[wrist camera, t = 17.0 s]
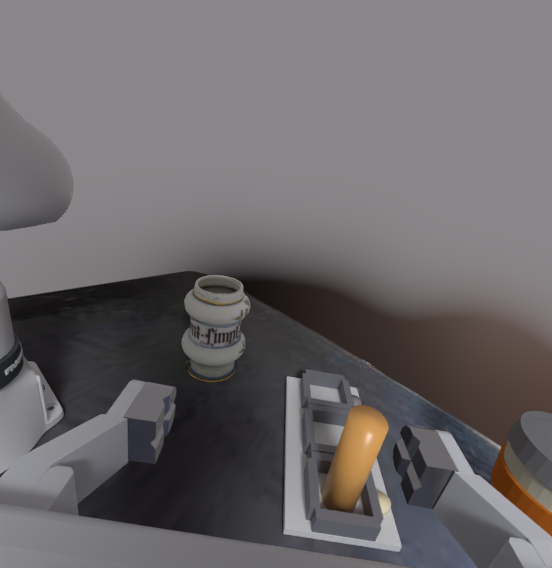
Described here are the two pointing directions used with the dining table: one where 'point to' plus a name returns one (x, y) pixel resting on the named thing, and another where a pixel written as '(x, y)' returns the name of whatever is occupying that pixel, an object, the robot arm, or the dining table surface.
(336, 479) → the orange rounded cylinder
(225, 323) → the apothecary jar
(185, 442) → the dining table surface
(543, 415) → the reusable coffee cup
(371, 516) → the board
